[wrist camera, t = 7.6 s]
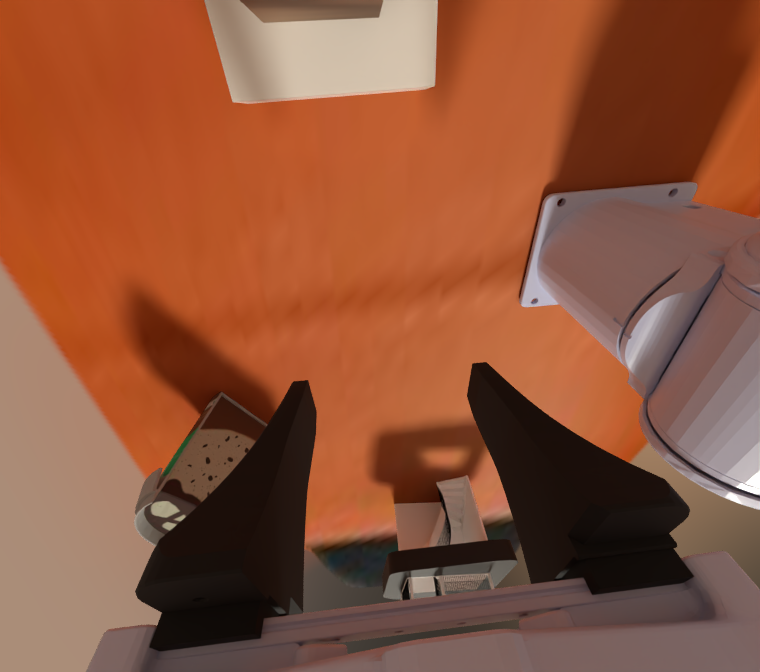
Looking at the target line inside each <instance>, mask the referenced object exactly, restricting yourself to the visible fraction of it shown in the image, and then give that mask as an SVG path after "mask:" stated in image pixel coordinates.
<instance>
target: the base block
mask: <svg viewBox="0 0 760 672" xmlns="http://www.w3.org/2000/svg"><path fill="white" fill-rule="evenodd" d="M204 1H205V4H206V8H207V12H208V15H209V19H210V22H211V26H212V29H213V33H214V37H215V40H216V44H217V47H218V51H219V54H220V58H221V62H222V65H223V69H224V72H225V76H226V80H227V83H228V87H229V90H230V94H231V97H232V101H233V102H237V103H248V104H250V103H263V102H275V101H288V100H301V99H313V98H326V97H338V96H351V95H364V94H376V93H389V92H401V91H414V90H425V89H428V88H431V87H434V86H435V69H436V39H437V9H438V0H383V4H382V8H381V12H380V16H379V18H360V19H339V20H317V21H295V22H273V23H263V22H262V21H261V20H260V19H259V18H258V17H257V16H256V15H255V14H254V13H252V12H251V11H250V10H249V9H248V8H247V7H246V6H245V5H244V4H243V3H242V2H241V1H240V0H204Z"/></svg>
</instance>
